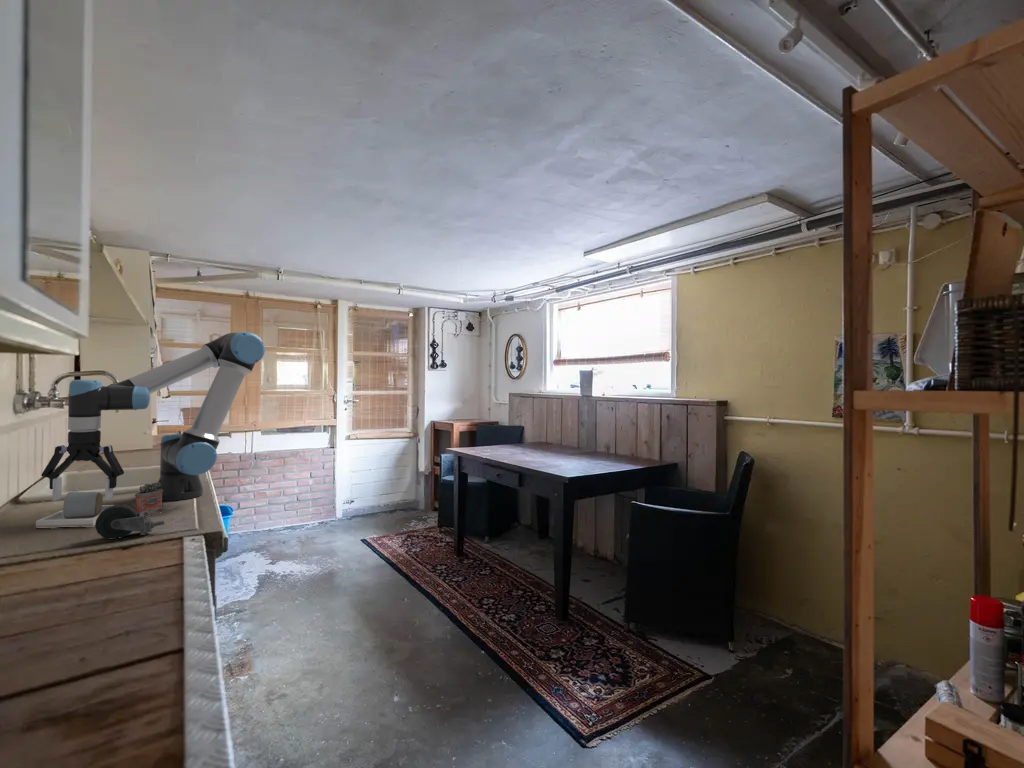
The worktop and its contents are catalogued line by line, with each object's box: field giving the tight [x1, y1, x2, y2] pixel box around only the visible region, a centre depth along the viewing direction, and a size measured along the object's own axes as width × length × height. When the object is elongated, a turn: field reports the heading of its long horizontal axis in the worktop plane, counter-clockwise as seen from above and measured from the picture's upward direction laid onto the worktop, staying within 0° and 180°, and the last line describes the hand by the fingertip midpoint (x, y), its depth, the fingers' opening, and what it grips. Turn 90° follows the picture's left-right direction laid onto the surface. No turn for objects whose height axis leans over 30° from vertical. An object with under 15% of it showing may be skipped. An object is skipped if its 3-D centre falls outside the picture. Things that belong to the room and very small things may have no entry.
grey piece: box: [62, 491, 103, 518], centre depth 149 cm, size 11×8×8 cm
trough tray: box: [35, 504, 114, 528], centre depth 147 cm, size 14×16×2 cm
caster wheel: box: [94, 504, 165, 539], centre depth 135 cm, size 6×10×15 cm
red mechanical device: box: [134, 481, 163, 517], centre depth 155 cm, size 8×3×10 cm, turn 162°
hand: (83, 499), depth 147 cm, fingers open, 13 cm apart
